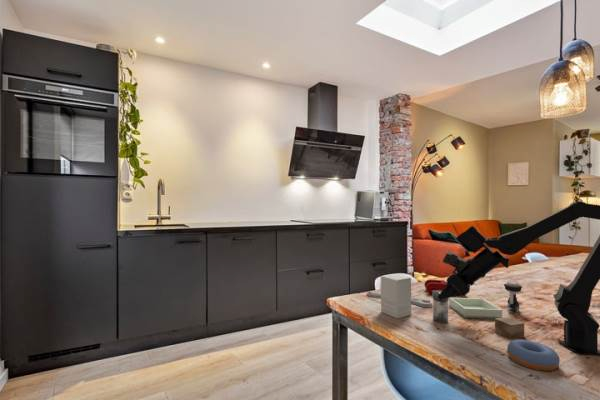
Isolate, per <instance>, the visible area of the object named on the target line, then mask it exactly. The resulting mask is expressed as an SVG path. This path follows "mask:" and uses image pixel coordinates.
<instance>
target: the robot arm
mask: <svg viewBox="0 0 600 400" xmlns="http://www.w3.org/2000/svg"><path fill="white" fill-rule="evenodd" d="M580 218H587V219H593V220H599V221H600V204H593V203H586V202H584V201H575V202H571V203H570V204H568V205H567V206H566V207H564V208H561V209H560V210H558V211H555V212H554V213H552V214H550V215H548V216H546V217H544V218H542V219H540V220H538V221H536V222H534V223H532V224H530V225H528V226H526V227H523V228H519V229H515V230H513V231H510V232H507V233H504V234H501V235H500V236H499V237H485V236H484V235H483V234H482V233H481V232H480V231H479V230H478V229H477V227H476V226H474V225H471V226H470V227H469V228H467V229H465V231H462V232H461V233H460V234H459V235H457V236H456V237H455V238H454V240H455V241H456V242H457V243H458V244H459V245H460V246H461V247H463V249H464V250H465V251H466V252H468V253H473V254H475V256H473V257H471V258H468V259H465V258H463V257H461V256H459V255H458V254H455V253H453V252H451V251H447V252H446V254H445V256H444V257H443V259H442V262H443V263H445V264H447V265H449V266H451V267H453V268H454V269H453V270H452V272H451V274H450V275H448V277H447V278H446V282H447V285H446V286H445V287H444V288H443V289H442V291H441V293H440V294H439V295H438V296H437V297H438V298H439V299H445V298H457V297H461V296H462V297H464V296H466V295H467V294H468V293H470V291H471V287H472V286H473V285H474V284H475V283H476V282H477V281H478V280H480V279H481V278H484V277H486V275H487V274H488V273H489V272H491V271H492V270H494V269H495V268H496V267H498V266H499V265H500V264H501V265H502V266H504V267H505V268H506V269H509V268H510V266H509V261H510V257H505V256H513V255H516V254H518V253H519V252H520V251H522V250H523V249H525V248H526V247H527V246H528V245H530V244H531V243H532V242H534V241H536V240H537V239H539V238H541V237H543V236H546V235H547V234H549V233H551V232H553V231H555V230H558V229H559V228H561V227H564V226H565V225H567V224H569V223H572V222H574V221H577V220H578V219H580ZM482 248H483V249H482ZM491 248H492V249H495V250H492V249H491ZM481 249H482V250H481ZM480 250H481V251H480ZM478 251H480V252H478ZM477 252H478V253H477ZM503 255H505V256H503ZM599 282H600V235H598V238H597V240H596V241H595V243H594V244H593V246H592V248H591V250H590V251H589V253H588V255H587V256H586V258H585V259H584V262H583V263H582V265H581V267H580V269H579V270H578V272H577V274H576V275H575V277H574V279H573V280H572V281H571V283H569V284H568V285H567V286H565V285H563V284H561V283H560V284H559V287H558V288H557V289H558V290H557V292H556V293H555V294H553V298H554V305H555V307H556V309H557V311H558V314H559V315H560V316H561V317H562V318H564V319H565V320H564V321H563V322H564V323H563V324H564V325H563V340H558V343H559V344H560V345H561V346H564V347H565V348H567V349H568V350H570V351H572V352H574V353H576V354H577V355H578V354H579V355H599V356H600V349H599V348H598V347H599V345H598V343H599V342H598V340H599V337H598V335H599V334H598V330H599V328H600V324H599V323H598V321H597V320H596V319H595V318H594V316H593V315H592V313H590V312H589V311H590V307H591V303H592V295H593V291H594V290H595V288H596V287H597V285H598V284H599Z"/></svg>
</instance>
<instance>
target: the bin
mask: <svg viewBox="0 0 600 400" xmlns="http://www.w3.org/2000/svg"><path fill="white" fill-rule="evenodd" d="M448 307H450V308H452V309H453V311H456V313H458V314H459V315H460V316H462V317H463V318H465V319H484V318H487V320H489V319H491V320H492V319H494V320H495V319H496V318H503V309H502V308H499V307H498V306H497V305H495V304H492V302H489V301H488V300H486V299H484V298H476V297H475V298H469V297H466V298H465V297H450V298H449V300H448Z"/></svg>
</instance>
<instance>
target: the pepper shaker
mask: <svg viewBox="0 0 600 400" xmlns="http://www.w3.org/2000/svg"><path fill="white" fill-rule="evenodd" d="M440 293H441V291H439V290H435V291H432V295H431V296H432V320H433V321H434V322H437V323H441V324H446V323H448V322H449V298H445V299H439V298H438V297H437V296H438V295H439V294H440Z"/></svg>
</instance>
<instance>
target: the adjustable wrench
mask: <svg viewBox="0 0 600 400" xmlns="http://www.w3.org/2000/svg"><path fill="white" fill-rule="evenodd" d="M366 296H367V297H373V298H379V299H381V292H380V293H379V292H374V291H373V292H372V291H367V292H366ZM411 305H416V306H418V307H422V308H433V302H431V300H430V299H425V298H421V297H417V298H412V297H411Z"/></svg>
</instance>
